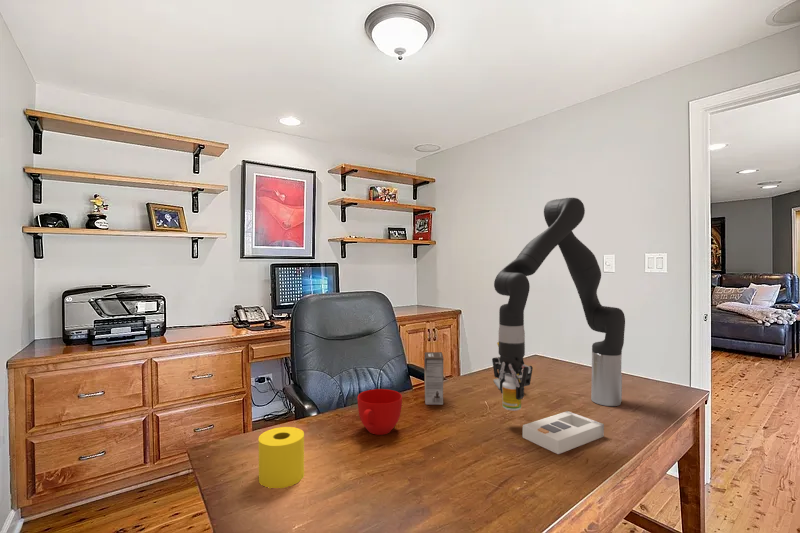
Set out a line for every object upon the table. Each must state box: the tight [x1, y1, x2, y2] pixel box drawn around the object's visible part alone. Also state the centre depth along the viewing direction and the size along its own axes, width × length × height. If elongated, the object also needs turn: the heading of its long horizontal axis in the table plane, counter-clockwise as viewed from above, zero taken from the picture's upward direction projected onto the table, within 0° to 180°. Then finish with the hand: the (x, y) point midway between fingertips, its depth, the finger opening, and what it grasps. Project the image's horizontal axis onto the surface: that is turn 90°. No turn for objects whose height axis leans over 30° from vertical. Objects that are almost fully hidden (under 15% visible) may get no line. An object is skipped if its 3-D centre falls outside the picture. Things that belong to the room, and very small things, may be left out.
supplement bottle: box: [501, 374, 522, 412], centre depth 123 cm, size 5×5×10 cm
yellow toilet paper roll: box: [258, 426, 305, 489], centre depth 95 cm, size 10×10×9 cm
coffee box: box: [424, 351, 444, 406], centre depth 146 cm, size 9×6×16 cm
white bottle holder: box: [522, 410, 605, 455], centre depth 116 cm, size 20×12×4 cm, turn 122°
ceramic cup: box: [357, 388, 403, 436], centre depth 119 cm, size 13×17×10 cm
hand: (511, 395), depth 124 cm, fingers closed on supplement bottle, 5 cm apart
